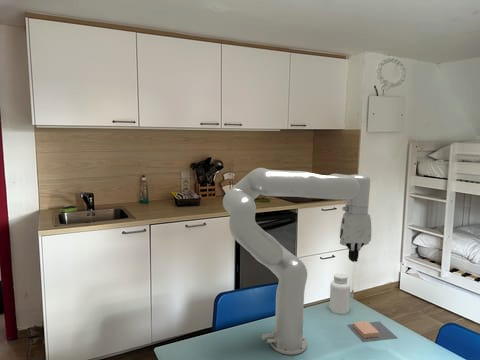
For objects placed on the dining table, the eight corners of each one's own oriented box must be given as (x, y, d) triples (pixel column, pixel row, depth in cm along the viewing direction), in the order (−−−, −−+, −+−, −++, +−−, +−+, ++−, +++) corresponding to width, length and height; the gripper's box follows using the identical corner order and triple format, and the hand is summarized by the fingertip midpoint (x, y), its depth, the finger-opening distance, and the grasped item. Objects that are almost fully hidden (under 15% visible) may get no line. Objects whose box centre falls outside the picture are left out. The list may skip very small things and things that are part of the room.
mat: (362, 343, 130) (362, 342, 130) (346, 325, 142) (346, 324, 141) (398, 339, 133) (398, 338, 133) (379, 322, 144) (379, 321, 144)
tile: (379, 336, 133) (363, 338, 132) (367, 325, 141) (352, 327, 140) (379, 332, 133) (364, 333, 132) (367, 321, 141) (353, 322, 140)
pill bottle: (336, 303, 159) (338, 270, 157) (353, 311, 153) (355, 276, 151) (325, 309, 154) (326, 275, 152) (341, 317, 148) (343, 281, 146)
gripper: (342, 212, 124) (338, 265, 126) (382, 212, 127) (377, 263, 129) (332, 208, 131) (329, 257, 134) (370, 207, 134) (366, 256, 137)
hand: (353, 260), depth 132 cm, fingers closed
